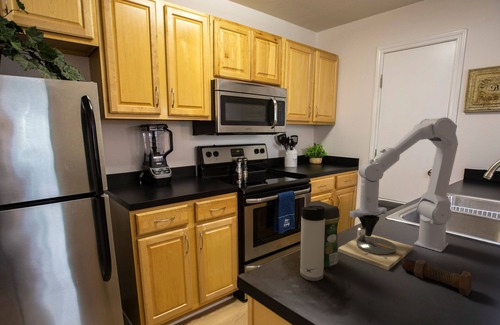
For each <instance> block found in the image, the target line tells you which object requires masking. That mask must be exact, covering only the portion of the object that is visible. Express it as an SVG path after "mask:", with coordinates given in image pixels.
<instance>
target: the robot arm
mask: <svg viewBox="0 0 500 325" xmlns="http://www.w3.org/2000/svg"><path fill="white" fill-rule="evenodd" d="M457 128H458V125H457V124H456V123H455V122H454V121H453V120H452V119H451V118H449V117H446V116H445V117H441V118H439V117H438V118H426V119H425V118H424V119H423V120H421V121H420V122H419V123H417V124H416V125H414V126H413V128H412V129H411V130H409V132H408V133H407V134H405V135H404V136H403V137H402V138H401V139H400V140H399V141H397V142H396V144H394V145H393V146H392V147H386V148H385V147H384V148H381V149H380V150H379V153H378V154H377V155H375V156H374V157H373V158H370V159H369V160H368V161H369V162H366V163H364V164H362V165H361V166H360V168H359V169H358V174H359V176H360V177H361V178H360V198H359V200H360V201H359V208H357V209H354V210H350V211H349V218H352V219H356V218H358V220H359V222H360V224H361V227H364V228H366V232H365V235H366V236H371V235H373V231H374V229H375V226H376V225H377V223H378V222H379V220H380V215H387V213H388V209H387V208H386V207H384V206H383V207H379V195H380V180H382V178H383V176H384V173H385V172H386V171H388V169H390V168H391V167H392V166H394V165H395V164H396V163H397V162H399V161H400V157H401V156H400V155H402V154H403V153H404V152H406V151H407V150H408V149H409V148H411V147H412V146H413V145H415V144H417V143H418V142H419V141H422V140H428V141H430V142H431V143H432V145H434V146H435V147H436V149H435V154H434V159H433V163H432V167H431V172H430V177H429V181H428V187H427V190H426V192H425V193H424V192H423V194H422V195H421V197H420V200H419V201H418V202H417V204H416V211H417V214H419V227H418V231H419V233H418V239H417V240H416V241H415V242H413V245H414V246H418V247H421V248H425V249H429V250H432V251H435V252H439V253H442V252H443V251H444V250H445V249H446V248H447V246H448V245H449V242H446V233H447V226H446V225H447V223H448V222H450V220H451V218H452V215H453V214H452V209H451V208H452V207H451V206H452V202H451V201H450V199H449V198H448V195H447V194H448V191H449V185H450V182H451V176H452V173H453V167H454V165H455V160H456V154H457V152H458V146H459V142H458V137H457Z"/></svg>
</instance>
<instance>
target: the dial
mask: <svg viewBox="0 0 500 325" xmlns="http://www.w3.org/2000/svg"><path fill="white" fill-rule="evenodd" d="M365 232H366V228H364V227H362V226H358V227H357V231H356V235H357V236H356V238H357V240H356V245H357V246H358V247H359V248H360V249H362V250H364V251H366V252H369V253H373V254H379V255H389V254H393V253H395V252H396V246H395V245H394V244H393V243H392V242H390V241H388V240H385V239H386V238H385V239H381V238H377V237H365Z"/></svg>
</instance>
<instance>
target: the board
mask: <svg viewBox="0 0 500 325" xmlns="http://www.w3.org/2000/svg"><path fill="white" fill-rule="evenodd" d="M365 237H377V238H381V239H385V240H388V241H390V242H392V243H393V244H394V245H395V246H396V252H395V253H393V254H389V255H379V254H373V253H369V252H366V251H364V250H362V249H360V248H359V247H358V246H357V245H356V240H357V237H355V238H354V239H352V240H350V241H348V242H347V243H345V244H342V245H341V246H339V247H338V253H341V254H344V255H345V256H349V257H351V258H354V259H357V260H359V261H362V262H365V263H367V264H370V265H372V266H376V267H379V268H380V269H384V270H386V271H389V270H391V269H392V268H393V267H394V266H395V265H397V264H398V263H399V262H400V261H401V260H403V259H404V258H405V257H406V256H407V255H408V254H409V253H410V252H412V251H413V248H414V246H413V245H409V244H407V243H406V244H405V243H403V242H402V243H401V242H399V241H395V240H392V239H388V238H385V237H382V236H378V235H374V234H372V235H371V236H366V235H365Z"/></svg>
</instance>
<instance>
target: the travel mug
mask: <svg viewBox="0 0 500 325" xmlns="http://www.w3.org/2000/svg"><path fill="white" fill-rule="evenodd" d="M300 216H301V217H300V218H301V219H300V220H301V221H300V223H301V226H300V267H299V269H300V272H299V274H300V276H301V277H302V279H303V278H304V279H305V280H308V281H311V282H318V281H320V280H323V278H324V268H325V267H324V234H325V207H323V206H309V207H308V206H302V207H301V215H300Z"/></svg>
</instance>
